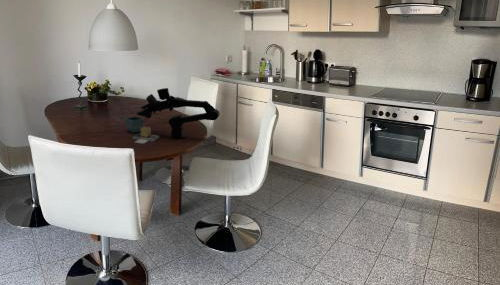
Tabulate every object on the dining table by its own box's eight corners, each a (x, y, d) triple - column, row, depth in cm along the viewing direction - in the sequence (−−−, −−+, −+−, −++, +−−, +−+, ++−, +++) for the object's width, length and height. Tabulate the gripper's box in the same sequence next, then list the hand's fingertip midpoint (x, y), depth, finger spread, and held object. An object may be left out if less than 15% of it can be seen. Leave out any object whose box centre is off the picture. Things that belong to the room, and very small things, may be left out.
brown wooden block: (150, 138, 234) (150, 127, 232) (147, 139, 230) (147, 129, 228) (144, 137, 235) (144, 126, 233) (140, 139, 231) (140, 128, 229)
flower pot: (136, 129, 252) (136, 116, 250) (144, 131, 247) (143, 118, 245) (125, 131, 246) (124, 118, 243) (132, 134, 241) (132, 120, 238)
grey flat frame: (159, 138, 235) (159, 135, 235) (153, 141, 228) (153, 138, 227) (138, 135, 238) (138, 133, 237) (132, 138, 230) (132, 136, 230)
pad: (148, 141, 228) (148, 140, 228) (144, 143, 222) (143, 142, 222) (139, 140, 229) (139, 139, 229) (134, 142, 223) (134, 141, 223)
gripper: (161, 88, 239) (138, 94, 241) (153, 99, 222) (129, 105, 225) (167, 104, 244) (145, 109, 246) (159, 116, 227) (136, 121, 230)
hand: (139, 110), depth 237 cm, fingers open, 9 cm apart
